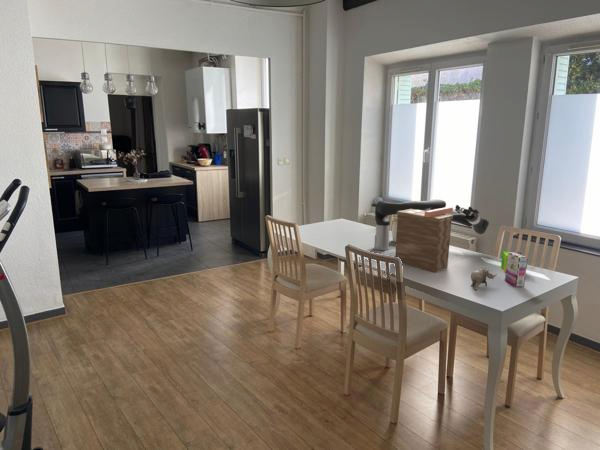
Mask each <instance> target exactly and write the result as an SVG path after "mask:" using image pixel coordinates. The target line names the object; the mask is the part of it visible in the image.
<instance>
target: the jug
mask: <svg viewBox="0 0 600 450" xmlns="http://www.w3.org/2000/svg"><path fill="white" fill-rule="evenodd" d="M397 219H398V216H397V217H393V218H392V221H393V223H392V225H391V229H390V230H391V237H392V242H393V243H395V244H396V235H397Z"/></svg>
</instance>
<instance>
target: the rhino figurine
mask: <svg viewBox="0 0 600 450" xmlns="http://www.w3.org/2000/svg"><path fill="white" fill-rule="evenodd" d="M489 271H490V269H487V268H486V267H485V268H482V267H481V268H480V269H477V270H474V271H472V272H471V273H470V278H471V285H470V287H472V288H473V291H478V289H477V288H478V287H479V286H480V285H481V284H484V286H485V287H487V286H488V281H487V278H488V279H489V280H491V279H492V280H493V279H494V278H495V277H496V276H497V273H496V274H493V273H490V272H489Z"/></svg>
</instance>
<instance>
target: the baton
mask: <svg viewBox="0 0 600 450" xmlns="http://www.w3.org/2000/svg"><path fill="white" fill-rule="evenodd" d="M453 210H454V207H452V206H446V207H445V208H440V209H434V210H430V209H429V210H424V211H425V215H424V217H433V216H437V215H442V214H453V212H454V211H453Z"/></svg>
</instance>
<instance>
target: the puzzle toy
mask: <svg viewBox="0 0 600 450" xmlns="http://www.w3.org/2000/svg"><path fill="white" fill-rule="evenodd" d="M508 252H509V251H502V254H501V262H500V263H501V264H500V268H501V269H502V271H503V270H504V271H503V272H504V273H506V267H507V258H508ZM517 253H519V254H521V255H523V256H525V255H524V254H522V253H521V252H518V251H517Z"/></svg>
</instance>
